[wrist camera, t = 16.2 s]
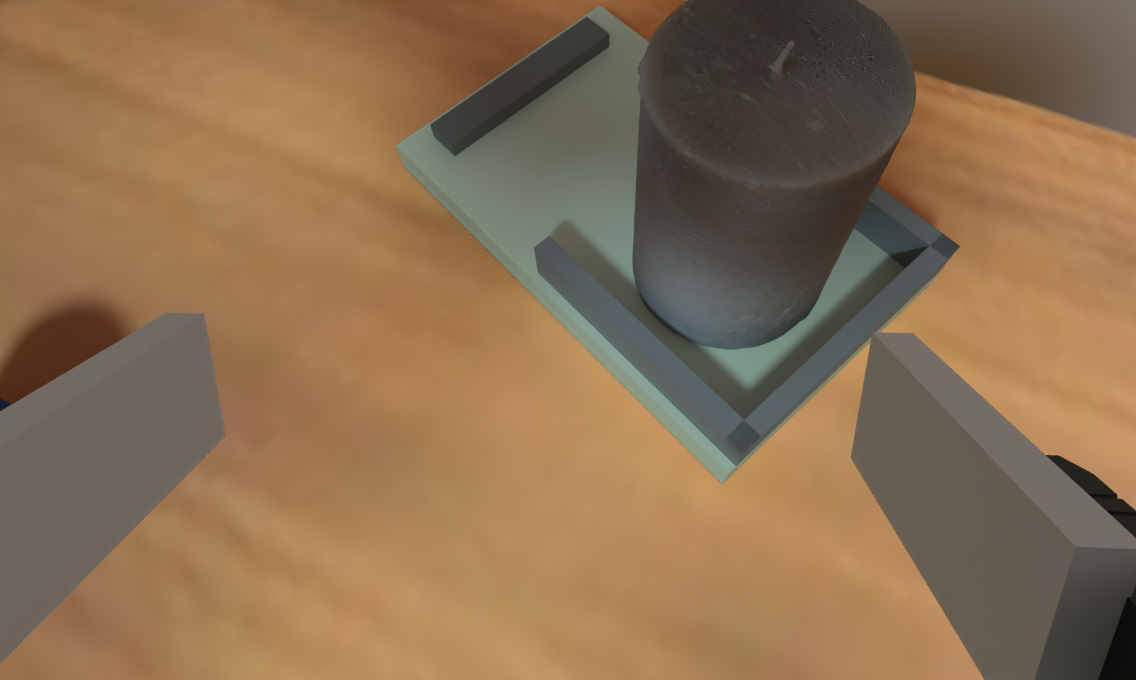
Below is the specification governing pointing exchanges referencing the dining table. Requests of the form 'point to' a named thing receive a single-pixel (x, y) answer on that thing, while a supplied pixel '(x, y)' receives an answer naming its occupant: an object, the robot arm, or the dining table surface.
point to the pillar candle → (759, 158)
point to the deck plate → (605, 242)
